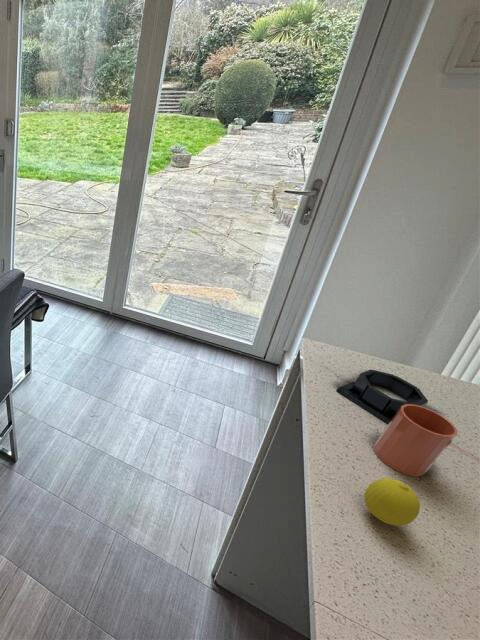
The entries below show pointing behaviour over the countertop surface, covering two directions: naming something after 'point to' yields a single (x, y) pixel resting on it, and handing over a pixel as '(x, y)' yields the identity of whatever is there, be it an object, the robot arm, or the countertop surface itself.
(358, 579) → the countertop surface
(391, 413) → the cup holder
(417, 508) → the lemon
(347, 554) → the countertop surface
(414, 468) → the cup
